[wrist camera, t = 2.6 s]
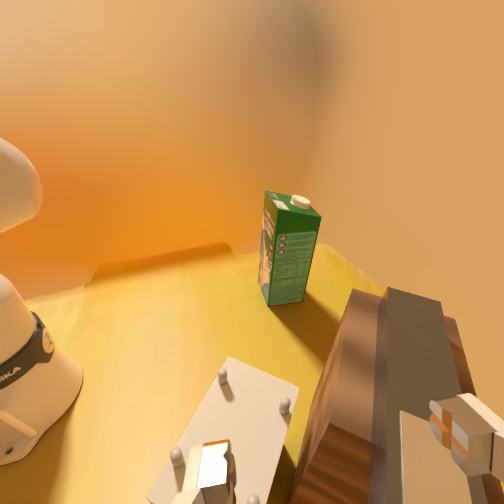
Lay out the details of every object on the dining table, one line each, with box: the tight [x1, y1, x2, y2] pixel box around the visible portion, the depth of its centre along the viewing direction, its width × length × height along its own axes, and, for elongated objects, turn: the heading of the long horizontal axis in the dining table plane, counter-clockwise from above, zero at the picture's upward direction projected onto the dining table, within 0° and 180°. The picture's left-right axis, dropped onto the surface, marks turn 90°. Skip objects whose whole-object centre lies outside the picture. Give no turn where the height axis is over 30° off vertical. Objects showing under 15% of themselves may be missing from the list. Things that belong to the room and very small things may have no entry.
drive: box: [368, 287, 488, 504], centre depth 17 cm, size 22×4×3 cm, turn 156°
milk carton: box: [258, 191, 321, 306], centre depth 57 cm, size 9×9×25 cm
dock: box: [146, 356, 299, 504], centre depth 29 cm, size 14×9×18 cm, turn 156°
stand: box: [288, 289, 504, 504], centre depth 29 cm, size 15×10×25 cm, turn 156°
